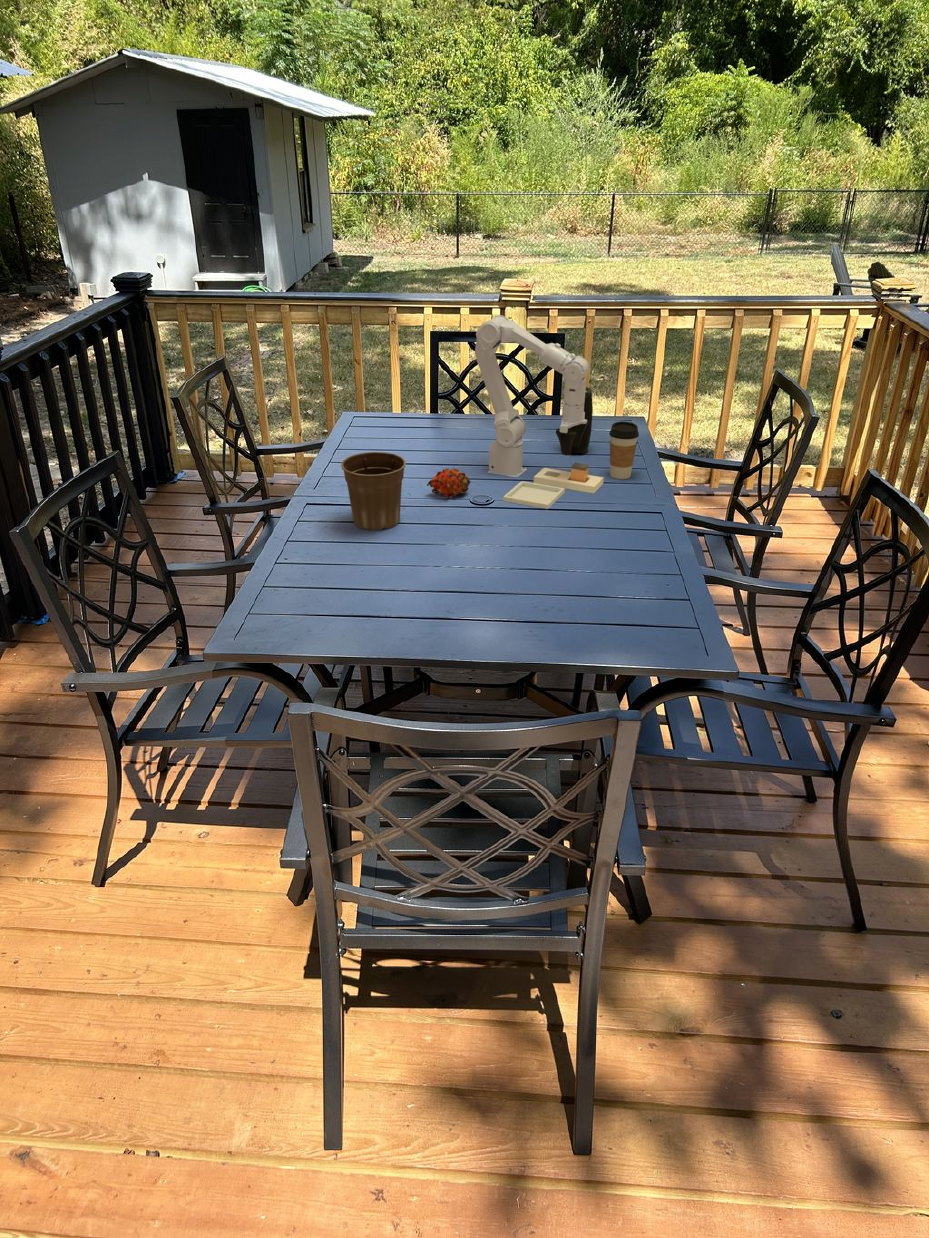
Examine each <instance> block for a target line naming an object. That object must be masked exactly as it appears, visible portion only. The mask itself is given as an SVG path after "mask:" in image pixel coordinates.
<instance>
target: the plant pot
mask: <svg viewBox="0 0 929 1238" xmlns="http://www.w3.org/2000/svg"><path fill="white" fill-rule="evenodd" d="M406 465H407V461H406V460H405V458H403V457H402V456H400V455H399V454H396V453H391V452H383V451H368V452H361V453H360V452H359V453H356V454H352V455H350V456H347V457H346V458H344V459H343V460H342V461H341V469H342V471H343V475H344V479H345V482H346V484H347V485H346V486H347V491H348V497H349V501H350V509H351V514H352V515H351V516H352V522H353V524H354V525H355V527H356V528H360V529H362V530H366V531H382V529H391V528H393V527H395V526H397V525H398V524H399V523H400V520H401V503H402V502H401V501H402V485H403V479H404V473H405V472H404V471H405V468H406Z"/></svg>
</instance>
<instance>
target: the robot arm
mask: <svg viewBox="0 0 929 1238" xmlns="http://www.w3.org/2000/svg"><path fill="white" fill-rule="evenodd" d="M475 336H476V343H475V349H474V356H475V359H476V362H477V365H478V367H479V370H480V374H481V376H482V380H483V383H484V386H485V389H486V391H487V394H488V397H489V399H490V402H491V405H492V409H493V411H494V415H495V417H494V424H493V425H494V427H495V428H494V429H495V439H496V440H493V441H492V442H491V444H490V446H489V450H488V471H487V473H488V474H489V473H490V474H495V475H500V476H501V475H502V476H506V477H512V478H519V477H520V475H522V474H523V473H524V472H526V471H527V470H528V469H527V468H526V467H523V459H524V458H523V453H524V441H523V436H524V435H525V434H526V432H527V425H526V422H525V421H524V420H523V418H522V417H521V415H520V414H519V411H518V410H517V409H516V408H514V406H513V404H512V400H511V398H510V394H509V392H508V389H507V386H506V383H505V379H504V377H503V373H502V371H501V369H500V366H499V365H500V364H499V362H498V359H497V356H496V353H497V351H498V349H499V347H500V345H501V344H506V343H516V344H518V345H520V346H522V347H523V348H525V349H528V350H529V351H531V352H533V353H535V354H537V355H538V356H539V358H540V361H541V363H542V364H545V365H546V366H548V367H550V368H552V369H553V370H555V371H556V372H558V373H559V374H562V377H563V379H564V381H565V382H564V389H563V390H564V393H563V402H562V403H563V406H562V412H563V417H562V416H561V424H560V425H559V428H558V427H557V428H556V429H555V434H556V436H557V438H558V442H559V444H560V450H561V455H564V456H570V452H571V448H572V446H574V447H579V445H580V442H581V439H582V436H583V433H584V430H585V428H586V427H587V425H588V421H587V420H586V419H585V412H584V402H585V389H586V387H587V386H586V381H587V377H586V376H587V375H588V373H589V371H590V364H589V362H588V360H587V359H586V358H585V357H584V356H582V355H576V354H574V353H573V352H572V353H570V352H569V351H567V350H565V349H564V348H562V347H561V346H562V345H561V344H559V343H558V342H557V343H553V342H550V343H545V342H544V341H542V340H540V339H539V338H538V337H536V336H534V334H532V333H531V332H529V331H528V330H527V329H525V328H523V327H522V326H520V325H519V324H518V323H516V321H514V320H513V319H510V318H508V317H507V316H504V315H502V314H501V315H500V314H499V315H498V314H497V315H495V316H494V317H492V318H491V319H488V320H487V321H484V322H482V323H481V324H480V326H479V328H478V329H477V331H476V333H475Z"/></svg>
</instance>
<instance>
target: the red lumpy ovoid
mask: <svg viewBox="0 0 929 1238" xmlns="http://www.w3.org/2000/svg"><path fill="white" fill-rule="evenodd" d="M470 483H471V480H470V478H469V476H467V475H466V474H465V472H463V471H460V470H459V469H458V468H456V467H453V468H452V469H449V468H443V469H442V470H441V471H437V472H436V475H435V476H434V477H432V479H430V480H429V481H428V482H427V484H426V486H427V487H430V488H432V489H431V492H432V493H433V494H435V495H440V496H442V497H444V496H446V498H447V499H450V498H452V497H457V496H458V497H459V496H460V494H465V493H466V492H468V490H469V487H470Z"/></svg>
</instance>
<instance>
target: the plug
mask: <svg viewBox="0 0 929 1238" xmlns="http://www.w3.org/2000/svg"><path fill="white" fill-rule="evenodd" d="M570 472H571V481H577V482H583V483H586V482H587V481H588V475H589V464H586V463H580V462H574V463H573V464H572V465H571V469H570Z"/></svg>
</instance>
